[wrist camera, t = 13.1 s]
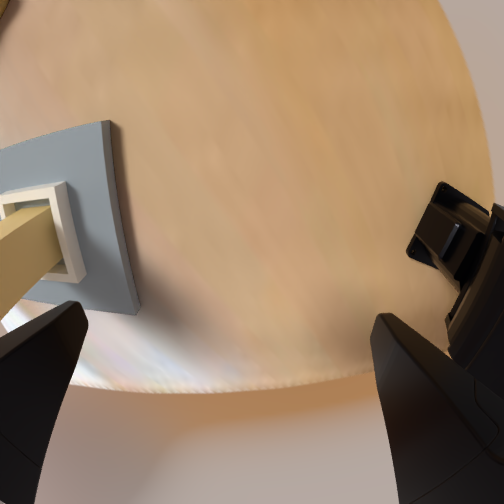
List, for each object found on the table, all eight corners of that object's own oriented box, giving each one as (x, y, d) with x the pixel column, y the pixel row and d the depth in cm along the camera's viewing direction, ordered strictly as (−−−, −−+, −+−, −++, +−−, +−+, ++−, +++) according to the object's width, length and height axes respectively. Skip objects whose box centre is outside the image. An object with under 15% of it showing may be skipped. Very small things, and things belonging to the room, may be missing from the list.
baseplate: (109, 119, 17) (89, 122, 15) (140, 306, 25) (129, 326, 22) (-12, 154, 18) (-30, 161, 16) (25, 292, 25) (12, 305, 23)
